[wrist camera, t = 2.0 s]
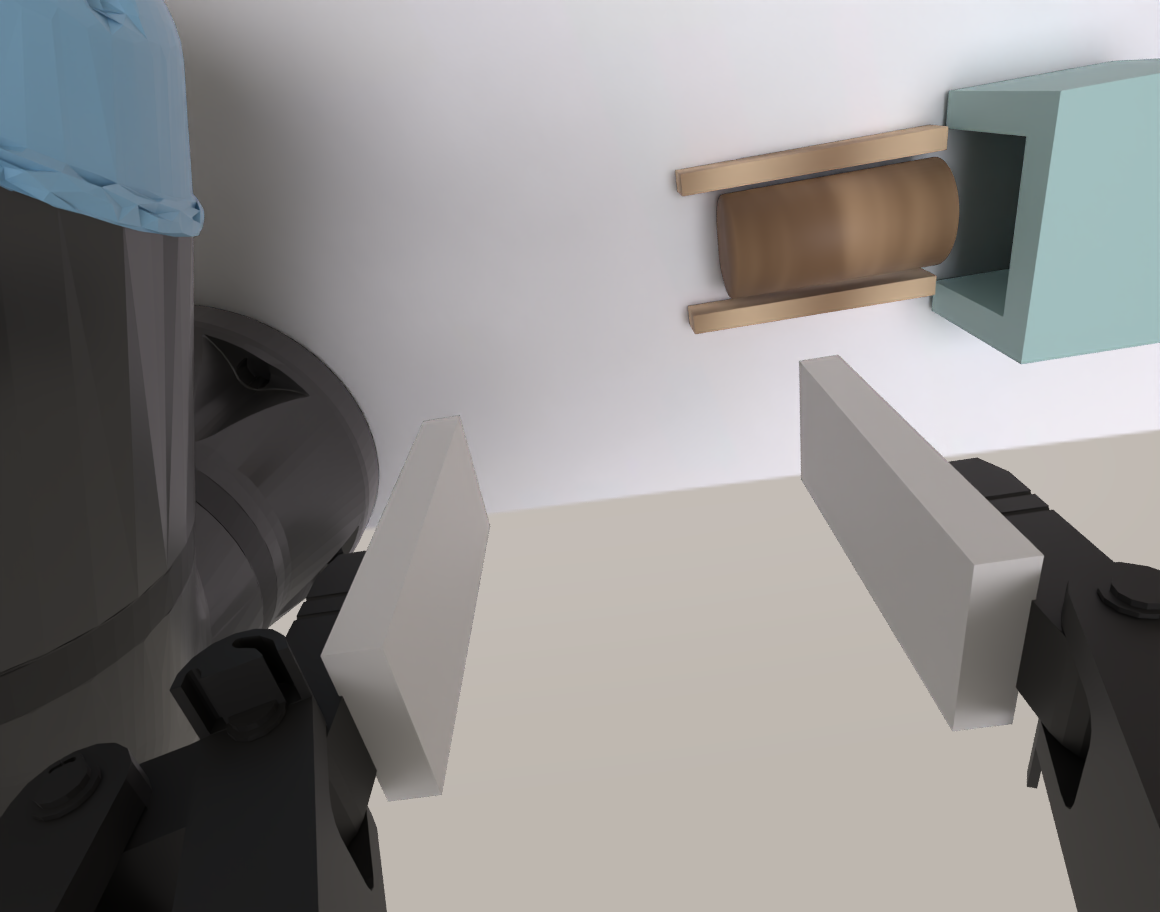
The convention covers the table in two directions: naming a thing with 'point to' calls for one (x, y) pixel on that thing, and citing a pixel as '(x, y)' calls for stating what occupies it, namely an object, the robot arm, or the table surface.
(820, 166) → the rails
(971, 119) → the block
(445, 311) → the table surface
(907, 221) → the dowel
